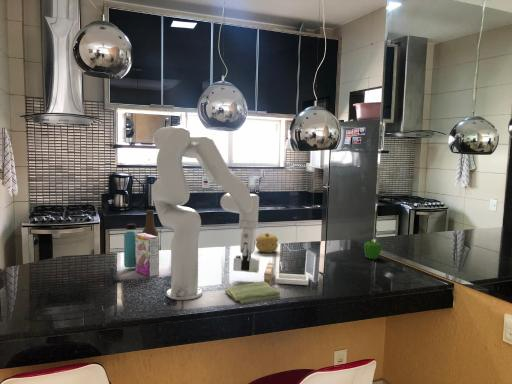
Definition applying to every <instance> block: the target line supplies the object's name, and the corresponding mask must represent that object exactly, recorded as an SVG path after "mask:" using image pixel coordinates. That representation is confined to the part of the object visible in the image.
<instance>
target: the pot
mask: <svg viewBox="0 0 512 384" xmlns="http://www.w3.org/2000/svg"><path fill="white" fill-rule="evenodd" d="M278 241H279V239H278V237H277V235H275V234H270V233H268V232H266V233H263V234H259V235H258V236H256V237H255V248H256V249H257V250H258V251H260V252H262V253H267V254H269V253H272V252H275V251H276V250H277V248H278V246H279V244H278Z"/></svg>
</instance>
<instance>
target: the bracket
mask: <svg viewBox="0 0 512 384" xmlns="http://www.w3.org/2000/svg"><path fill="white" fill-rule="evenodd" d="M275 276H276V277H275V284H282V285H283V284H285V285H286V284H287V285H298V286H299V285H302V286H303V285H304V286H309V274H293V273H276V275H275Z"/></svg>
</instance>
